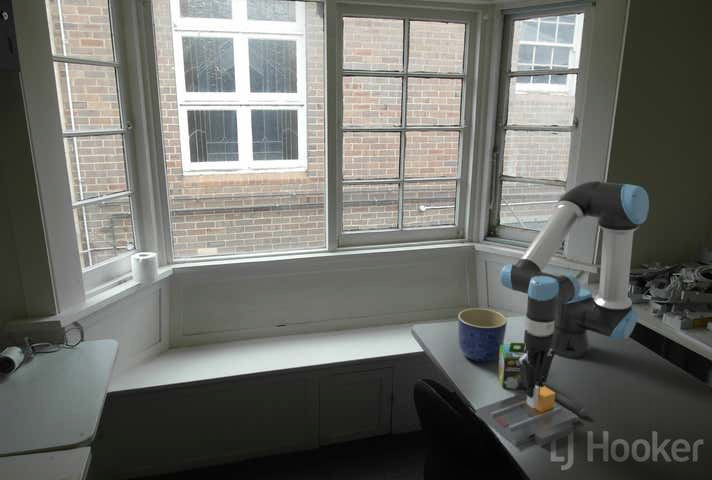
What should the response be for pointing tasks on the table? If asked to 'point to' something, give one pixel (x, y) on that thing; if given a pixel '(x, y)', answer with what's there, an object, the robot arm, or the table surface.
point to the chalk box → (511, 365)
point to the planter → (481, 333)
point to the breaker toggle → (545, 399)
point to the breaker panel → (522, 418)
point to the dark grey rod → (569, 404)
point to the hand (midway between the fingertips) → (531, 405)
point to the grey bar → (553, 433)
